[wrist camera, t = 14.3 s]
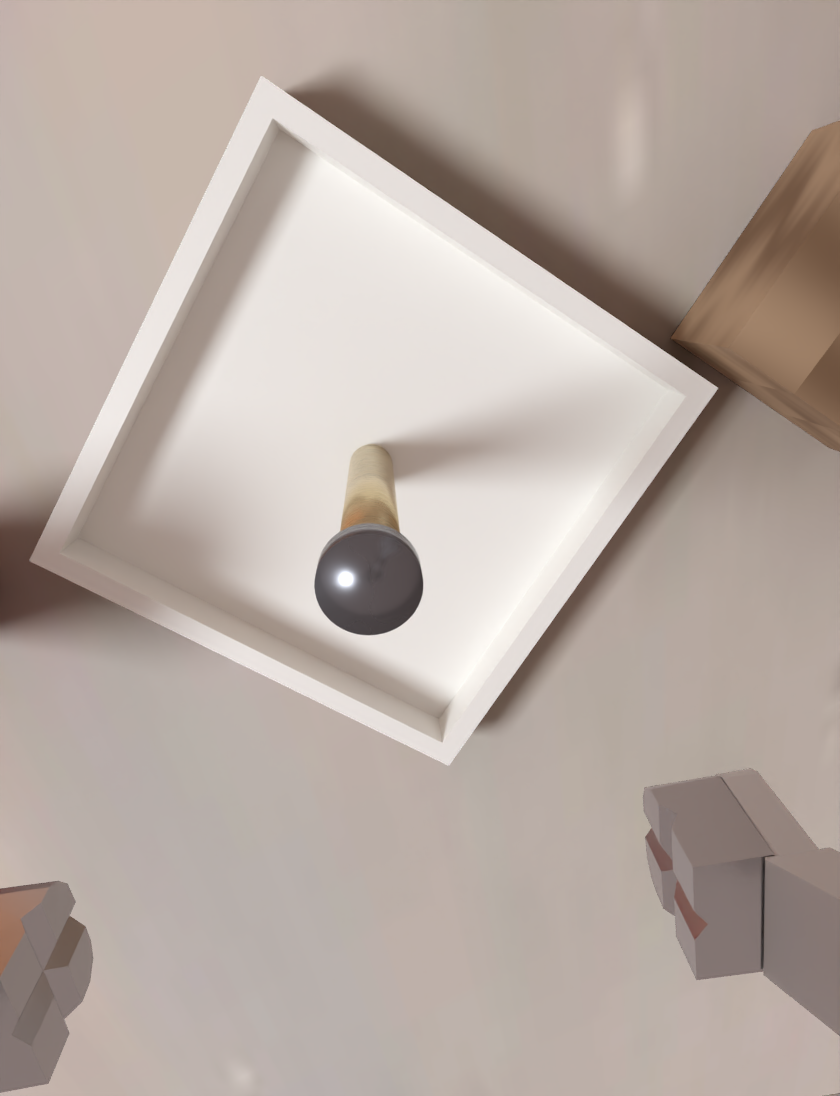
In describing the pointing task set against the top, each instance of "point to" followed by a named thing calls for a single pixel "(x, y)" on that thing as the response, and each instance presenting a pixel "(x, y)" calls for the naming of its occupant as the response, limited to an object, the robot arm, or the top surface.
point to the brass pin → (369, 554)
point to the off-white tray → (362, 431)
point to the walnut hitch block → (782, 296)
